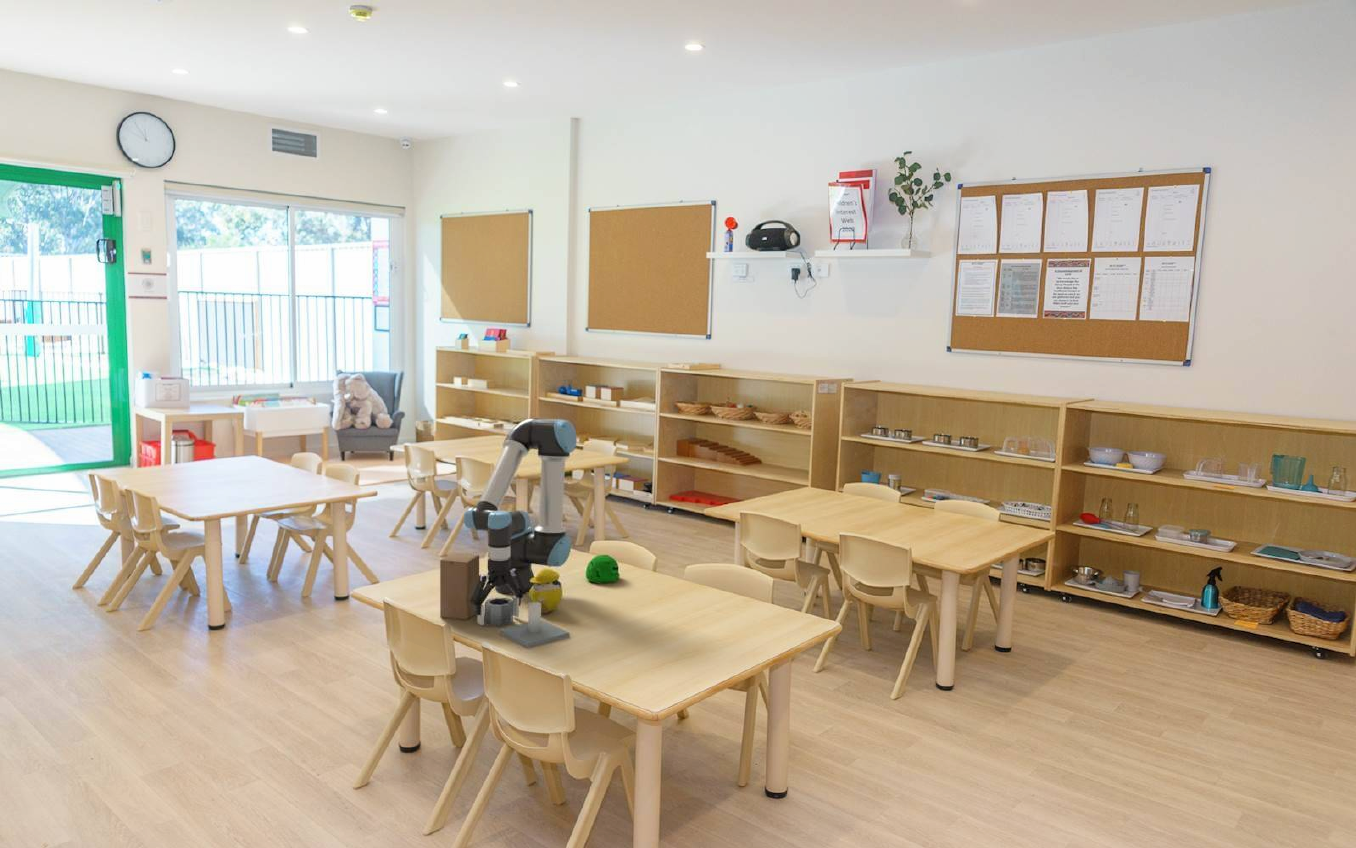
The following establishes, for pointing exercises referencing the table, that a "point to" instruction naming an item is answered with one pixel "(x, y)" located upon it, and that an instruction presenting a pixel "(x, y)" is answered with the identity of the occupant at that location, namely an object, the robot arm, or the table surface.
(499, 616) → the collar ring
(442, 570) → the wooden block
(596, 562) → the toy
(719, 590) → the table surface
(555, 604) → the toy
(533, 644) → the piston post
